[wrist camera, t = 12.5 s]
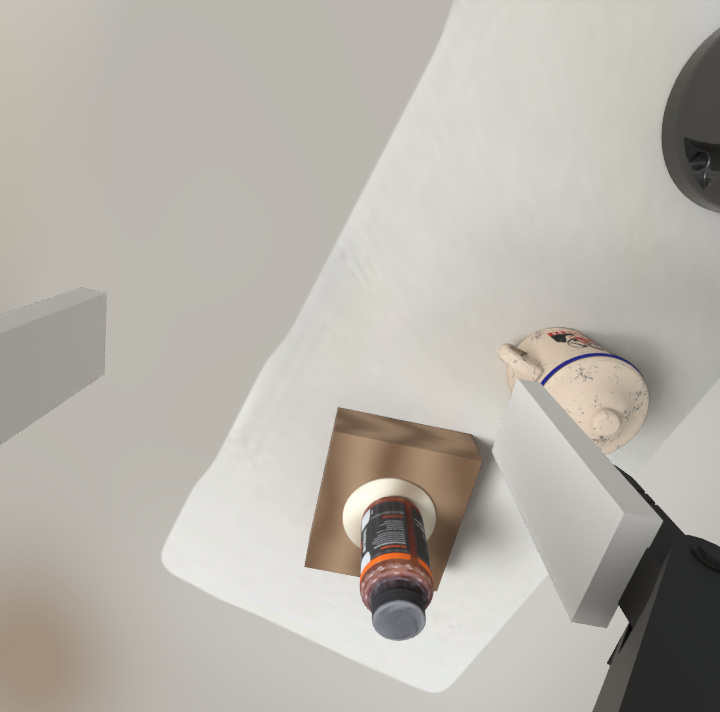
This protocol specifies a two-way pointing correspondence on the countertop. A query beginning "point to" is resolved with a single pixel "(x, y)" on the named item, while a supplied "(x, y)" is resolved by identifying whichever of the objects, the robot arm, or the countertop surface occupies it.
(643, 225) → the countertop surface
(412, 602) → the supplement bottle
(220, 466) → the countertop surface
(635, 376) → the cream ceramic oval pot
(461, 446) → the walnut stand
